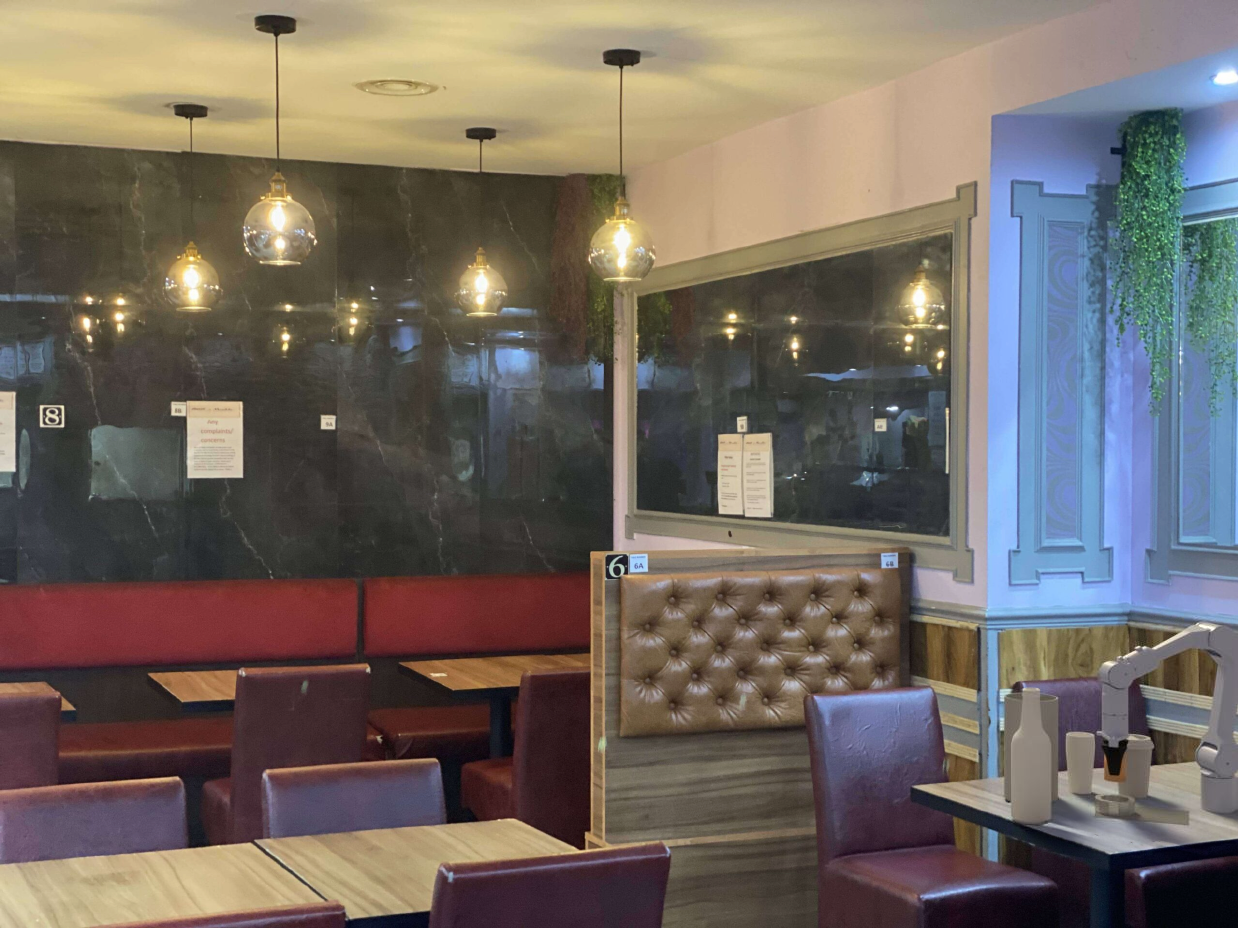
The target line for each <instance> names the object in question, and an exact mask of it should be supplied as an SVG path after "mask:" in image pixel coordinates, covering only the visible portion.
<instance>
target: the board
mask: <svg viewBox="0 0 1238 928" xmlns="http://www.w3.org/2000/svg"><path fill="white" fill-rule="evenodd" d="M1094 811H1095V810H1094ZM1189 813H1190V811H1189V810H1184V809H1174V808H1173V809H1172V808H1160V807H1148V806H1137V805H1135V814H1134V815H1130V816H1112V815H1105V814H1101V813H1098V812H1096V811H1095V812H1094V816H1093V817H1094V818H1104V819H1113V820H1114V819H1115V820H1125V821H1134V822H1135V821H1138V822H1145V823H1146V822H1149V823H1160V824H1169V825H1170V824H1172V825H1183V826H1189V824H1190V823H1189V822H1190V821H1189V818H1190V814H1189Z"/></svg>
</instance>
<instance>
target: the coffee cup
mask: <svg viewBox="0 0 1238 928" xmlns="http://www.w3.org/2000/svg"><path fill="white" fill-rule="evenodd" d="M1126 739H1128V740H1129V742H1128V744H1127V749H1126V751H1125V754H1126V781H1125V782H1117V790H1118V791H1117V792H1118V795H1124V796H1129V797H1132V798H1134V799H1145V798H1147V797H1149V785H1150V774H1151V763H1152V753H1153V749H1154V748H1155V744H1154V743H1153V741H1152V739H1151V737H1150V736H1148V735H1147V736H1146V735H1144V734H1143V735H1142V734H1134V733H1132V734H1131V733H1129V738H1126Z"/></svg>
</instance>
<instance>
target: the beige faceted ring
mask: <svg viewBox="0 0 1238 928" xmlns="http://www.w3.org/2000/svg"><path fill="white" fill-rule="evenodd" d="M1135 806H1136V798H1132V797H1129V796H1124V795H1119V794H1116V793H1115V794H1114V793H1102V794H1097V795H1095V797H1094V811H1096V812H1098V813H1101V814H1105V815H1112V816H1130V815H1134V814H1135Z"/></svg>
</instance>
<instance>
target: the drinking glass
mask: <svg viewBox="0 0 1238 928" xmlns="http://www.w3.org/2000/svg"><path fill="white" fill-rule="evenodd" d="M1095 739H1096V738H1095V734H1093V733H1090V732H1083V731H1069V732H1067V733H1066V734H1065V755H1066V756H1065V757H1066V767H1067V779H1068V792H1070V793H1072V794H1077V795H1090V794H1092V792H1093V789H1092V788H1093V776H1094V765H1095V764H1094V763H1095V762H1094V761H1095V752H1096V751H1095V750H1096V744H1095V743H1096V742H1095Z"/></svg>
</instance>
